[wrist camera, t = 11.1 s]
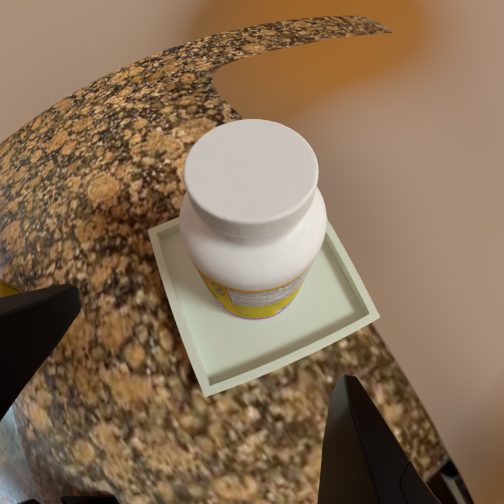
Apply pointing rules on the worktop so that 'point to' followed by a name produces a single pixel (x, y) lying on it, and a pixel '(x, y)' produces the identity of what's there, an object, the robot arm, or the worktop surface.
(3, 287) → the medication box
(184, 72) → the worktop surface
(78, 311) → the robot arm
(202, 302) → the tray
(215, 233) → the supplement bottle
